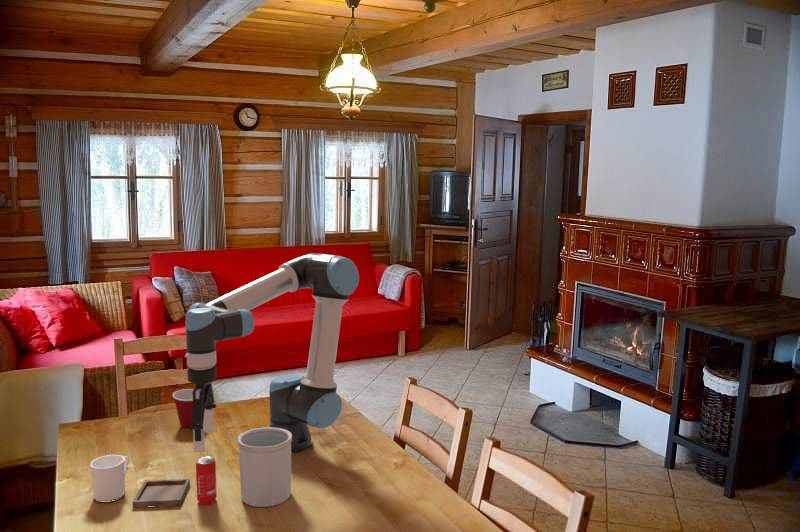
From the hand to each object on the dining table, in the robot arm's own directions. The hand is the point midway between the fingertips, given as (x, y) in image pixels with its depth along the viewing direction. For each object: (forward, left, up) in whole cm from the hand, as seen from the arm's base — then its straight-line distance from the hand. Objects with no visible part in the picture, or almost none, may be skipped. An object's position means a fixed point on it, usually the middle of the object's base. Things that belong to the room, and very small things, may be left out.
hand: (204, 441), depth 186 cm
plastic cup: (+16, -56, -18) cm, 61 cm away
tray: (+13, -4, -18) cm, 22 cm away
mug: (+27, -6, -18) cm, 33 cm away
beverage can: (0, 0, -18) cm, 18 cm away
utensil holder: (-16, -2, -18) cm, 24 cm away
